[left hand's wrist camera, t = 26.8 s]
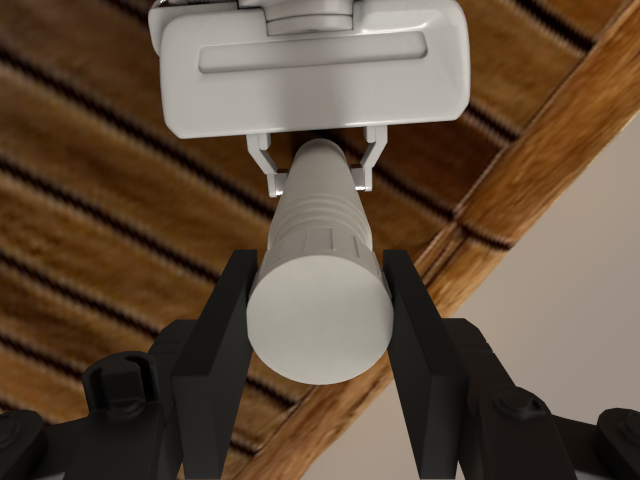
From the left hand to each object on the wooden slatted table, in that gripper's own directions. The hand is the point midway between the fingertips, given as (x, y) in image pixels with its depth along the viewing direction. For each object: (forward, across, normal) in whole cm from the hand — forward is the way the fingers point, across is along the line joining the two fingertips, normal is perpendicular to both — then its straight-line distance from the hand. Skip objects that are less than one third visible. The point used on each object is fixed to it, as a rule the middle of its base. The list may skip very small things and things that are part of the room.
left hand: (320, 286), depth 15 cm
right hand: (+17, 0, -1) cm, 17 cm away
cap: (-2, 0, 0) cm, 2 cm away
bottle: (+23, 0, 0) cm, 23 cm away
